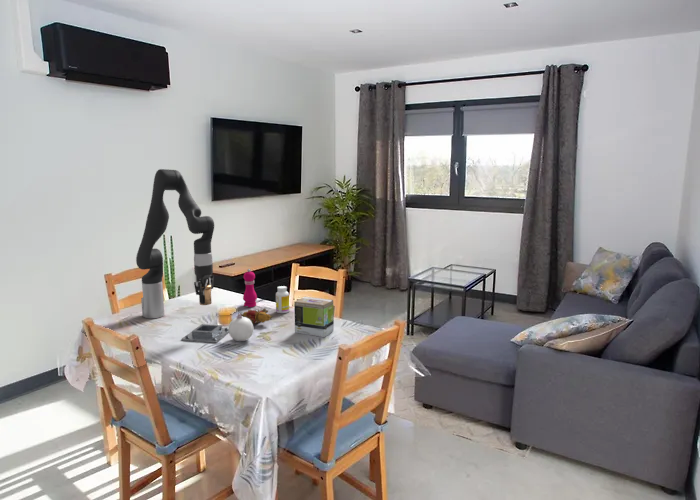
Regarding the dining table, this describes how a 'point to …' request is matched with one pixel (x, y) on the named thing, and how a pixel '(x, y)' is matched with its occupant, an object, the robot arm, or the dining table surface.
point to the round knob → (207, 295)
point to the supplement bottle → (282, 300)
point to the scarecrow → (257, 315)
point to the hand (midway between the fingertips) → (205, 301)
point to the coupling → (207, 334)
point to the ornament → (240, 328)
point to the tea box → (314, 316)
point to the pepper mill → (249, 289)
